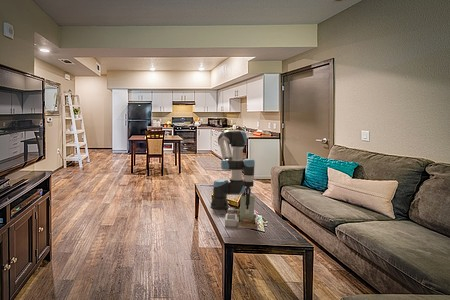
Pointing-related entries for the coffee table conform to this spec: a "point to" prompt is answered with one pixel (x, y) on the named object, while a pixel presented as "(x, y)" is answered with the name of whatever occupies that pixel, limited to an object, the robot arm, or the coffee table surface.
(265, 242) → the coffee table surface
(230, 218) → the bin
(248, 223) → the offcut walnut
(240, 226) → the rack
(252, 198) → the grey-green flat block
